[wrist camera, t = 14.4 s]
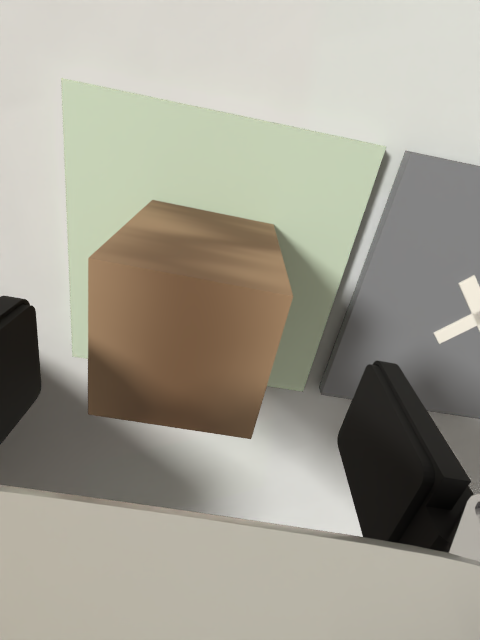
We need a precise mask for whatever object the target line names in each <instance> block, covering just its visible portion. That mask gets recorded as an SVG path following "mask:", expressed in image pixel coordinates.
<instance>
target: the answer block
mask: <svg viewBox="0 0 480 640" xmlns="http://www.w3.org/2000/svg"><path fill="white" fill-rule="evenodd" d="M292 299H293V293H292V290H291V286H290V282H289V279H288V275H287V272H286V268H285V264H284V261H283V257H282V253H281V250H280V246H279V242H278V239H277V235H276V231H275V228H274V224H270V223H265V222H260V221H255V220H250V219H245V218H240V217H235V216H230V215H225V214H220V213H215V212H210V211H206V210H201V209H196V208H191V207H186V206H181V205H176V204H171V203H166V202H161V201H156V200H152V201H150V202H149V203H148V204H147V205H146V206H145V207H144V208H143V209H142V210H141V211H139V212H138V213H137V214H136V215H135V216H134V217H133V218H132V219H131V220H129V221H128V222H127V223H126V224H125V225H124V226H123V227H122V228H121V229H120V230H118V231H117V232H116V233H115V234H114V235H113V236H112V237H111V238H110V239H109V240H107V241H106V242H105V243H104V244H103V245H102V246H101V247H100V248H99V249H98V250H96V251H95V252H94V253H93V254H92V255H91V256H90V257H89V258H88V414H89V415H95V416H102V417H109V418H115V419H122V420H128V421H135V422H142V423H148V424H155V425H162V426H168V427H175V428H181V429H188V430H195V431H201V432H208V433H214V434H221V435H228V436H234V437H241V438H247V439H251V438H252V434H253V431H254V427H255V424H256V421H257V417H258V414H259V410H260V407H261V404H262V400H263V397H264V394H265V390H266V387H267V383H268V380H269V377H270V373H271V370H272V367H273V363H274V360H275V356H276V353H277V350H278V346H279V343H280V340H281V336H282V333H283V329H284V326H285V323H286V319H287V316H288V313H289V309H290V306H291V302H292Z"/></svg>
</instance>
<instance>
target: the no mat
mask: <svg viewBox="0 0 480 640" xmlns="http://www.w3.org/2000/svg"><path fill="white" fill-rule="evenodd" d="M377 360H378V361H383V362H389V363H395V364H397V365H398V366H399V367H400V369H401V370H402V372H403V373H404V375H405V377H406V378H407V380H408V381H409V383H410V385H411V386H412V388H413V389H414V391H415V393H416V394H417V396H418V397H419V399H420V401H421V402H422V404H423V405H424V407H425V409H426V410H427V411H432V412H439V413H445V414H452V415H458V416H465V417H472V418H478V419H480V166H476V165H471V164H466V163H462V162H457V161H452V160H447V159H443V158H438V157H433V156H428V155H424V154H419V153H414V152H409V151H405V153H404V156H403V159H402V162H401V164H400V167H399V170H398V173H397V175H396V178H395V181H394V184H393V186H392V189H391V192H390V195H389V197H388V200H387V203H386V206H385V208H384V211H383V214H382V217H381V219H380V222H379V225H378V228H377V230H376V233H375V236H374V239H373V241H372V244H371V247H370V249H369V252H368V255H367V258H366V260H365V263H364V266H363V269H362V271H361V274H360V277H359V280H358V282H357V285H356V288H355V291H354V293H353V296H352V299H351V302H350V304H349V307H348V310H347V313H346V315H345V318H344V321H343V324H342V326H341V329H340V332H339V334H338V337H337V340H336V343H335V345H334V348H333V351H332V354H331V356H330V359H329V362H328V365H327V367H326V370H325V373H324V376H323V378H322V381H321V384H320V387H319V388H320V392H321V395H328V396H334V397H341V398H347V399H353V397H354V395H355V392H356V390H357V387H358V385H359V382H360V380H361V378H362V375H363V373H364V370H365V368H366V366H367V365H369V364H371V365H372V364H373V363H374V362H375V361H377Z"/></svg>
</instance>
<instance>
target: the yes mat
mask: <svg viewBox="0 0 480 640" xmlns="http://www.w3.org/2000/svg"><path fill="white" fill-rule="evenodd" d="M61 85H62V110H63V135H64V160H65V184H66V209H67V234H68V259H69V284H70V309H71V333H72V357H79V358H86V359H88V258H89V257H90V256H91V255H92V254H93V253H94V252H95V251H96V250H98V249H99V248H100V247H101V246H102V245H103V244H104V243H105V242H106V241H107V240H109V239H110V238H111V237H112V236H113V235H114V234H115V233H116V232H117V231H118V230H120V229H121V228H122V227H123V226H124V225H125V224H126V223H127V222H128V221H129V220H131V219H132V218H133V217H134V216H135V215H136V214H137V213H138V212H139V211H141V210H142V209H143V208H144V207H145V206H146V205H147V204H148V203H149V202H150V201H152V200H156V201H161V202H166V203H171V204H176V205H181V206H186V207H191V208H196V209H201V210H206V211H210V212H215V213H220V214H225V215H230V216H235V217H240V218H245V219H250V220H255V221H260V222H265V223H270V224H274V228H275V231H276V235H277V239H278V242H279V246H280V250H281V253H282V257H283V261H284V264H285V268H286V272H287V275H288V279H289V282H290V286H291V290H292V293H293V299H292V302H291V306H290V309H289V313H288V316H287V319H286V323H285V326H284V329H283V333H282V336H281V340H280V343H279V346H278V350H277V353H276V356H275V360H274V363H273V367H272V370H271V373H270V377H269V380H268V383H267V386H269V387H275V388H282V389H288V390H295V391H301V392H303V390H304V387H305V384H306V382H307V379H308V376H309V373H310V370H311V367H312V364H313V361H314V358H315V355H316V352H317V349H318V346H319V343H320V340H321V337H322V335H323V332H324V329H325V326H326V323H327V320H328V317H329V314H330V311H331V308H332V305H333V302H334V299H335V296H336V293H337V290H338V288H339V285H340V282H341V279H342V276H343V273H344V270H345V267H346V264H347V261H348V258H349V255H350V252H351V249H352V246H353V243H354V241H355V238H356V235H357V232H358V229H359V226H360V223H361V220H362V217H363V214H364V211H365V208H366V205H367V202H368V199H369V196H370V194H371V191H372V188H373V185H374V182H375V179H376V176H377V173H378V170H379V167H380V164H381V161H382V158H383V155H384V152H385V149H386V146H381V145H376V144H371V143H367V142H362V141H357V140H352V139H348V138H343V137H338V136H333V135H329V134H324V133H319V132H314V131H310V130H305V129H300V128H295V127H291V126H286V125H281V124H276V123H272V122H267V121H262V120H258V119H253V118H248V117H243V116H239V115H234V114H229V113H224V112H220V111H215V110H210V109H205V108H201V107H196V106H191V105H186V104H182V103H177V102H172V101H167V100H163V99H158V98H153V97H148V96H144V95H139V94H134V93H129V92H125V91H120V90H115V89H110V88H106V87H101V86H96V85H91V84H87V83H82V82H77V81H72V80H68V79H63V78H61Z"/></svg>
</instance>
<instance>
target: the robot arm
mask: <svg viewBox="0 0 480 640" xmlns="http://www.w3.org/2000/svg"><path fill="white" fill-rule="evenodd" d="M40 391H41V374H40V362H39V349H38V336H37V323H36V311H35V308H34V307H33V306H30V304H29V302H28V301H27V300H26V299H20V298H14V297H9V296H1V297H0V444H1V443H2V442H3V441H4V439H5V438H6V437H7V436H8V434H9V433H10V432H11V430H12V429H13V428H14V427H15V425H16V424H17V423H18V422H19V420H20V419H21V418H22V417H23V415H24V414H25V413H26V412H27V410H28V409H29V408H30V407H31V405H32V404H33V403H34V402H35V400H36V399H37V397H38V396H39V394H40ZM338 447H339V451H340V455H341V458H342V462H343V466H344V469H345V473H346V476H347V480H348V484H349V487H350V491H351V495H352V498H353V502H354V505H355V509H356V513H357V516H358V520H359V524H360V527H361V531H362V534H363V537H359V536H353V535H347V534H340V533H334V532H327V531H320V530H314V529H307V528H300V527H293V526H287V525H280V524H273V523H267V522H260V521H253V520H246V519H240V518H233V517H226V516H219V515H212V514H205V513H198V512H191V511H184V510H178V509H171V508H164V507H157V506H150V505H143V504H136V503H128V502H121V501H114V500H107V499H100V498H93V497H86V496H79V495H71V494H64V493H57V492H50V491H42V490H35V489H28V488H21V487H13V486H6V485H0V640H480V494H476V495H474V494H473V493H472V491H471V489H470V488H469V486H468V485H469V484H470V482H471V481H470V479H469V477H468V476H467V474H466V473H465V471H464V469H463V468H462V466H461V465H460V463H459V461H458V460H457V458H456V457H455V455H454V453H453V452H452V450H451V449H450V447H449V445H448V444H447V442H446V441H445V439H444V437H443V436H442V434H441V433H440V431H439V429H438V428H437V426H436V425H435V423H434V421H433V420H432V418H431V417H430V415H429V413H428V412H427V410H426V409H425V407H424V405H423V404H422V402H421V401H420V399H419V397H418V396H417V394H416V393H415V391H414V389H413V388H412V386H411V385H410V383H409V381H408V380H407V378H406V377H405V375H404V373H403V372H402V370H401V369H400V367H399V366H398V365H397V364H395V363H389V362H383V361H378V360H377V361H375V362H374V363H373V364H372V365H371V364H369V365H367V366H366V368H365V370H364V373H363V375H362V378H361V380H360V382H359V385H358V387H357V390H356V392H355V395H354V397H353V399H352V402H351V404H350V407H349V409H348V412H347V414H346V416H345V419H344V421H343V424H342V426H341V428H340V431H339V434H338Z"/></svg>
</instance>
